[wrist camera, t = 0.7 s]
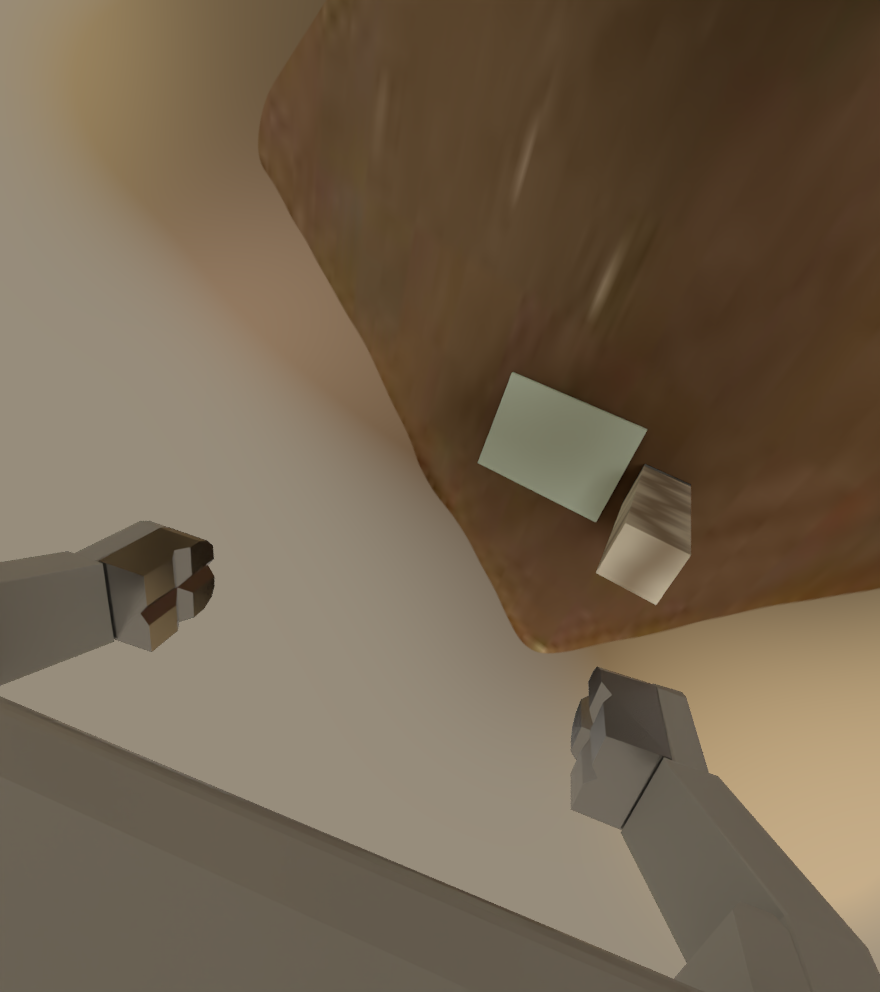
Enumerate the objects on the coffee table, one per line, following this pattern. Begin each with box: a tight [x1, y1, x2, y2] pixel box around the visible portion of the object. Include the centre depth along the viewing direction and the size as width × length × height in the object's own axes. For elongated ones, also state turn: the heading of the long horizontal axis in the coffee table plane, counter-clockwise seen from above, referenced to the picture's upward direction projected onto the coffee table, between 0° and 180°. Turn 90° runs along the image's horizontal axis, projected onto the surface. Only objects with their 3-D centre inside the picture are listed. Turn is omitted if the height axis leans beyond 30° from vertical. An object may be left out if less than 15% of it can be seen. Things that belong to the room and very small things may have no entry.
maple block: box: [596, 464, 691, 605], centre depth 44 cm, size 5×5×18 cm
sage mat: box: [478, 372, 647, 522], centre depth 54 cm, size 16×12×1 cm
